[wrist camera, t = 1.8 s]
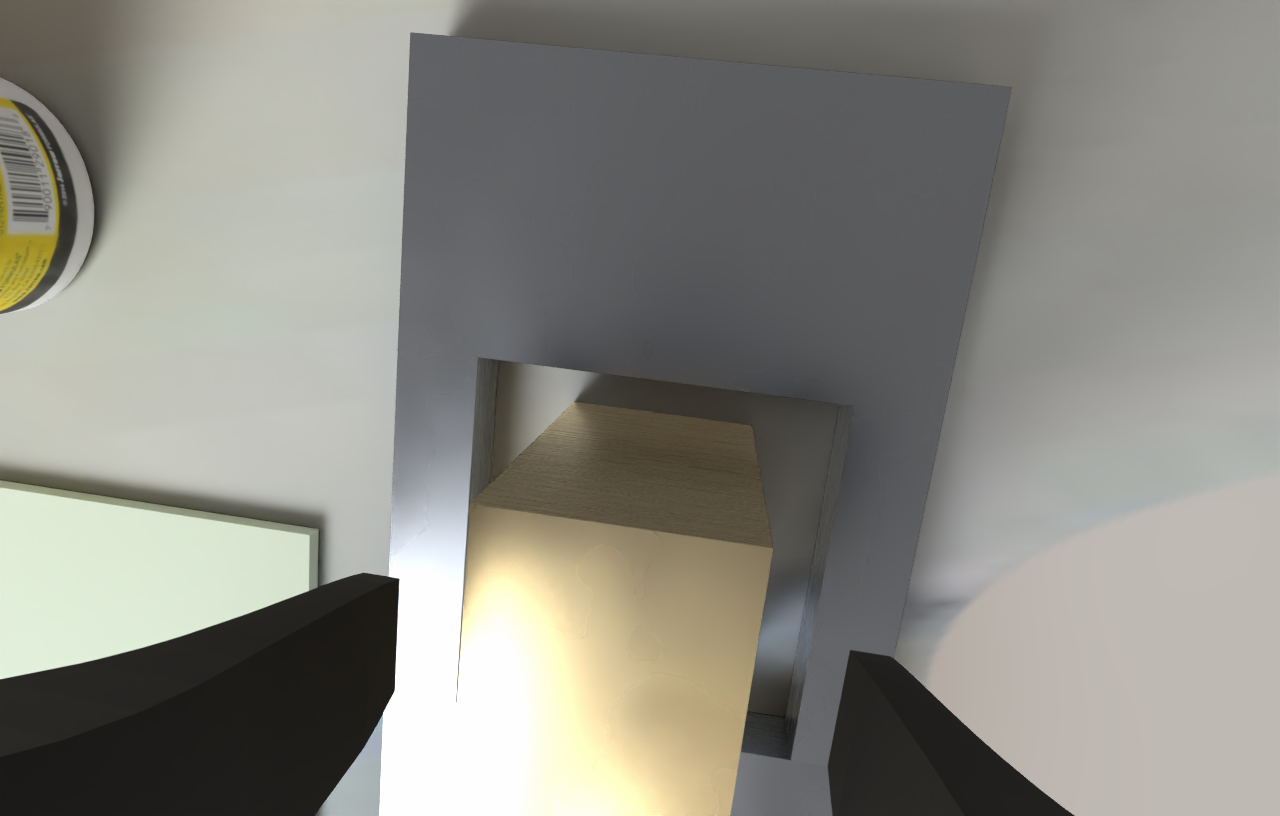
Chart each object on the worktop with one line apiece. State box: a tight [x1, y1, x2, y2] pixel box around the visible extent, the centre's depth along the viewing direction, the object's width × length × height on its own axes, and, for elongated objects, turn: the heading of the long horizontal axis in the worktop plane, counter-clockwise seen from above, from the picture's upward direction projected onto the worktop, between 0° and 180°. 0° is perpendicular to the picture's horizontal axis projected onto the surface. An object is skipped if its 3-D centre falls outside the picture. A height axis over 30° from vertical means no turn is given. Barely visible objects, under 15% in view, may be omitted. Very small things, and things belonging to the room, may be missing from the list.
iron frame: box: [379, 33, 1012, 816], centre depth 16 cm, size 20×11×2 cm, turn 174°
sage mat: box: [0, 480, 319, 679], centre depth 20 cm, size 16×14×1 cm
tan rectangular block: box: [450, 402, 773, 816], centre depth 13 cm, size 6×4×7 cm, turn 174°
